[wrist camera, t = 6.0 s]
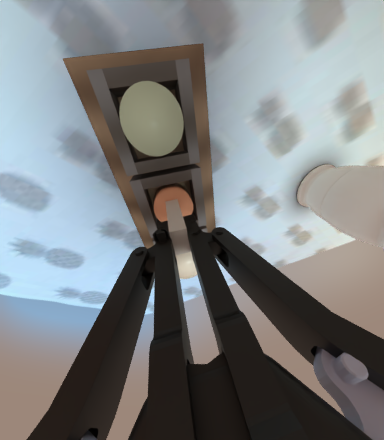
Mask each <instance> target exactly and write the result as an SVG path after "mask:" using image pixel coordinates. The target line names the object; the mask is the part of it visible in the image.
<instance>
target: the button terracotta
mask: <svg viewBox="0 0 384 440" xmlns="http://www.w3.org/2000/svg"><path fill="white" fill-rule="evenodd" d="M175 199H177V200H178V203H179V206H180V209H181V212H182V216H187V215H191V214H192V212H193V202H192V200H191V198H190V196H189V194H188V192H187V191H186V189H185V188H184V187H183V186H181V185H179V184H176V183H173V184H168V185H163V186H161V187H160V188H159V189H158V190H157V191H156V193H155V197H154V213H155V215H156V217H157V218H158V220H159V221H161V222H163V221H167V212H166V203H165V202H166V201H170V200H175Z"/></svg>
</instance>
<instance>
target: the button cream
mask: <svg viewBox="0 0 384 440" xmlns="http://www.w3.org/2000/svg"><path fill="white" fill-rule="evenodd" d="M176 259H177V265H178V271H179V277H180V278H181V279H188V278H192V277H194V276H196V275H197V271H196V268H195V264H194V261H193V258H192V253H191V252H188V253H184V254H180V255H176Z"/></svg>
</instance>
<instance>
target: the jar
mask: <svg viewBox="0 0 384 440" xmlns="http://www.w3.org/2000/svg"><path fill="white" fill-rule="evenodd" d="M297 199H298V202H299V203H300V204H301V205H302V206H305V207H310V209H311V210H312V211H313V212H314V213H315V214H316V215H317V216H319V217H320V218H322V219H323V220H325V221H326V222H327V223H329V224H330V225H331V226H333V227H334V228H336V229H337V230H339V231H341V232H343V233H345V234H347V235H349V236H351V237H353V238H355V239H358V240H360V241H363V242H366V243H368V244H371V245H375V246H378V247H382V248H383V250H384V166H343V167H338V168H336V167H334V166H333V165H328V164H327V165H322V166H319V167H317V168H315V169H314V170H312V171H311V172H310V173H309V174H308V175H307V176H306V177H305V178H304V180H303V181H302V183H301V184H300V186H299V189H298V193H297Z"/></svg>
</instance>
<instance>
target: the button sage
mask: <svg viewBox="0 0 384 440" xmlns="http://www.w3.org/2000/svg"><path fill="white" fill-rule="evenodd" d="M119 114H120V123H121V126H122V129H123V132H124V134H125V136H126V137H127V139H128V140H129V142H130V143H131V144H132V145H133V146H134V147H135V148H136V149H137V150H139V151H140V152H142V153H144V154H146V155H149V156H163V155H166V154H168V153H170V152H172V151H173V150H174V149H175V148H176V147H177V145H178V144H179V142H180V140H181V137H182V134H183V128H184V121H183V114H182V111H181V108H180V105H179V103H178V102H177V100H176V98H175V97H174V95H173V94H172V93H171V92H170V91H169V90H168V89H167V88H165V87H164V86H162V85H160V84H158V83H156V82H152V81H141V82H138V83H135V84H134V85H132V86H131V87H130V88H129V89H128V90H127V91H126V92H125V94H124V96H123V97H122V100H121V104H120V111H119Z"/></svg>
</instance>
